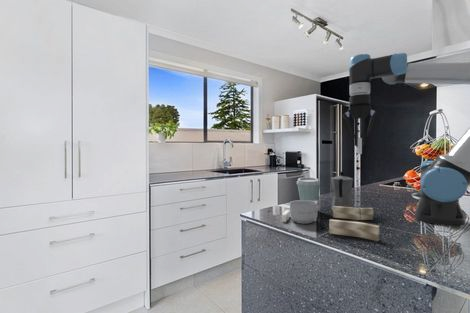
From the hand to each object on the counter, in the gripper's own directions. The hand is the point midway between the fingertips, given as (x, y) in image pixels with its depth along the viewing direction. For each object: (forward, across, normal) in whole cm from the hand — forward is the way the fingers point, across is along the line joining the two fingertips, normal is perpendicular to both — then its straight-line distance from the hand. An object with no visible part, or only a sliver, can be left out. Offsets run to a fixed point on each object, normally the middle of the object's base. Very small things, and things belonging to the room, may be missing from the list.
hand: (359, 153), depth 102 cm
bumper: (+26, -28, -12) cm, 40 cm away
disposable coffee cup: (+27, -21, +5) cm, 34 cm away
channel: (+26, -3, -12) cm, 29 cm away
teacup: (+27, -19, -12) cm, 35 cm away
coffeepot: (+27, -7, +9) cm, 29 cm away
